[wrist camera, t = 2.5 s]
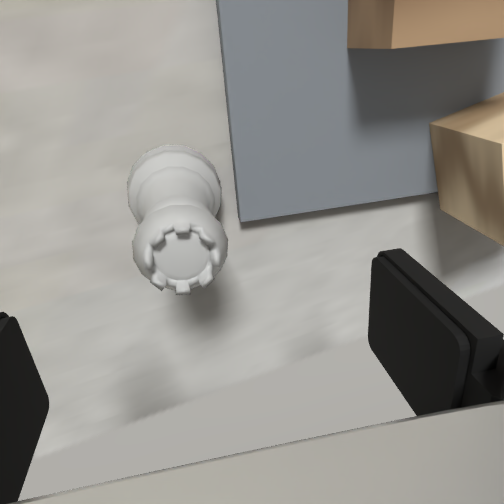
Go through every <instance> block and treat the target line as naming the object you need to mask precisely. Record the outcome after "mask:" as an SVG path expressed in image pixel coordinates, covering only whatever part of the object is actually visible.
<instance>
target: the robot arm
mask: <svg viewBox="0 0 504 504" xmlns="http://www.w3.org/2000/svg"><path fill="white" fill-rule="evenodd" d="M503 335H504V334H503V333H501V332H500V331H499V330H498V329H497V328H495V327H494V326H493V325H492V324H491V323H490V322H488V321H487V320H486V319H485V318H484V317H482V316H481V315H480V314H479V313H478V312H477V311H475V310H474V309H473V308H472V307H471V306H469V305H468V304H467V303H466V302H465V301H463V300H462V299H461V298H460V297H459V296H457V295H456V294H455V293H454V292H453V291H451V290H450V289H449V288H448V287H447V286H446V285H444V284H443V283H442V282H441V281H440V280H438V279H437V278H436V277H435V276H434V275H432V274H431V273H430V272H429V271H428V270H426V269H425V268H424V267H423V266H422V265H421V264H419V263H418V262H417V261H416V260H415V259H413V258H412V257H411V256H410V255H409V254H407V253H406V252H405V251H404V250H402V249H401V248H400V249H393V250H387V251H380V252H379V253H378V255H377V257H376V258H373V260H372V267H371V287H370V307H369V327H368V341H369V344H370V347H371V349H372V351H373V352H374V354H375V355H376V357H377V358H378V360H379V361H380V363H381V364H382V365H383V367H384V368H385V370H386V371H387V373H388V374H389V376H390V377H391V379H392V380H393V382H394V383H395V385H396V386H397V387H398V389H399V390H400V392H401V393H402V395H403V396H404V398H405V399H406V401H407V402H408V404H409V405H410V407H411V408H412V409H413V411H414V412H415V414H416V415H417V416H415V417H410V418H405V419H401V420H396V421H391V422H386V423H381V424H377V425H371V426H366V427H362V428H357V429H352V430H347V431H342V432H338V433H333V434H328V435H323V436H318V437H314V438H309V439H304V440H299V441H294V442H290V443H285V444H280V445H275V446H271V447H266V448H261V449H257V450H252V451H247V452H243V453H238V454H233V455H228V456H224V457H219V458H214V459H210V460H205V461H201V462H196V463H191V464H187V465H182V466H177V467H173V468H168V469H163V470H159V471H154V472H149V473H145V474H140V475H136V476H132V477H127V478H122V479H117V480H113V481H108V482H104V483H99V484H95V485H90V486H86V487H81V488H77V489H72V490H67V491H63V492H59V493H54V494H49V495H45V496H40V497H36V498H31V499H27V500H22V501H18V498H19V495H20V493H21V490H22V487H23V484H24V481H25V478H26V475H27V472H28V469H29V466H30V463H31V460H32V457H33V455H34V452H35V449H36V446H37V443H38V440H39V437H40V434H41V431H42V428H43V425H44V422H45V419H46V416H47V414H48V410H49V398H48V395H47V392H46V390H45V388H44V385H43V383H42V380H41V378H40V375H39V373H38V370H37V368H36V365H35V363H34V360H33V358H32V356H31V353H30V351H29V348H28V346H27V343H26V341H25V338H24V336H23V333H22V331H21V328H20V326H19V324H18V321H17V319H16V318H15V317H13V316H12V317H9V316H8V315H7V314H6V313H4V312H0V504H504V340H503ZM17 501H18V502H17Z"/></svg>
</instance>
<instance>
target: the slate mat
mask: <svg viewBox="0 0 504 504" xmlns="http://www.w3.org/2000/svg"><path fill="white" fill-rule="evenodd" d="M216 5H217V14H218V24H219V34H220V44H221V53H222V63H223V73H224V82H225V92H226V102H227V112H228V121H229V131H230V141H231V151H232V160H233V170H234V180H235V190H236V199H237V209H238V217H239V219H240V221H241V222H245V221H252V220H259V219H265V218H272V217H278V216H285V215H291V214H298V213H304V212H311V211H317V210H324V209H330V208H337V207H343V206H350V205H356V204H363V203H369V202H376V201H383V200H389V199H396V198H402V197H409V196H415V195H422V194H428V193H435V192H438V187H437V180H436V172H435V164H434V157H433V149H432V141H431V134H430V126H429V123H430V122H433V121H435V120H438V119H440V118H443V117H445V116H447V115H450V114H452V113H455V112H457V111H459V110H462V109H464V108H467V107H469V106H472V105H474V104H476V103H479V102H481V101H484V100H486V99H488V98H491V97H493V96H496V95H498V94H501V93H503V92H504V38H496V39H486V40H476V41H466V42H456V43H446V44H436V45H426V46H416V47H406V48H395V49H363V48H347V26H348V0H216Z"/></svg>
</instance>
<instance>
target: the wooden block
mask: <svg viewBox="0 0 504 504" xmlns="http://www.w3.org/2000/svg"><path fill="white" fill-rule="evenodd" d="M496 38H504V0H348V26H347V48H363V49H395V48H406V47H416V46H426V45H436V44H446V43H456V42H466V41H476V40H486V39H496Z"/></svg>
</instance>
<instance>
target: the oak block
mask: <svg viewBox="0 0 504 504" xmlns="http://www.w3.org/2000/svg"><path fill="white" fill-rule="evenodd" d="M429 126H430V134H431V141H432V149H433V157H434V164H435V172H436V180H437V187H438V195H439V203H440V209H441V210H442V211H444V212H446V213H447V214H449V215H451V216H453V217H454V218H456V219H458V220H459V221H461V222H463V223H465V224H466V225H468V226H470V227H471V228H473V229H475V230H477V231H478V232H480V233H482V234H483V235H485V236H487V237H489V238H490V239H492V240H494V241H496V242H497V243H499V244H501V245H502V246H504V92H503V93H501V94H498V95H496V96H493V97H491V98H488V99H486V100H484V101H481V102H479V103H476V104H474V105H472V106H469V107H467V108H464V109H462V110H459V111H457V112H455V113H452V114H450V115H447V116H445V117H443V118H440V119H438V120H435V121H433V122H430V123H429Z"/></svg>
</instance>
